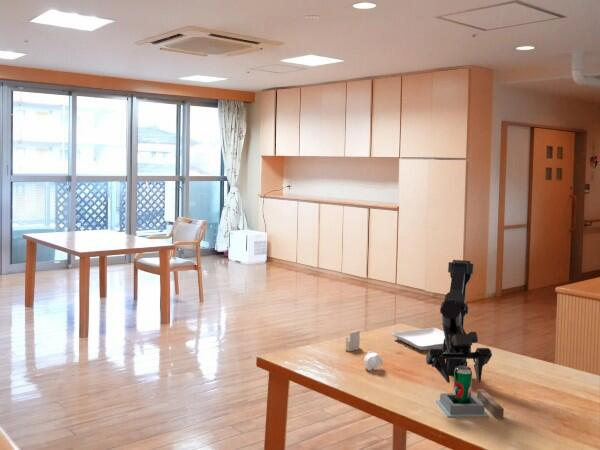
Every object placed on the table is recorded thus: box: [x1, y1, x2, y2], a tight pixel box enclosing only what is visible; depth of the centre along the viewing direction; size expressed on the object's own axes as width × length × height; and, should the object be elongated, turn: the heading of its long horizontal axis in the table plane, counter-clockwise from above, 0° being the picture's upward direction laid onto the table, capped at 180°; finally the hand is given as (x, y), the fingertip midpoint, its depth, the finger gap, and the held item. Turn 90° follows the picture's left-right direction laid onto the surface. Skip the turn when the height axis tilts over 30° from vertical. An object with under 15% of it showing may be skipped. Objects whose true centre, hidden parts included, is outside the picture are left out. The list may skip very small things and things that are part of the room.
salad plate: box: [391, 327, 445, 351], centre depth 264 cm, size 21×21×3 cm
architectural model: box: [343, 330, 362, 352], centre depth 255 cm, size 3×7×7 cm, turn 135°
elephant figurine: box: [362, 350, 384, 372], centre depth 230 cm, size 7×8×6 cm
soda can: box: [452, 365, 473, 404], centre depth 195 cm, size 5×5×12 cm
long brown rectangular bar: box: [476, 388, 505, 420], centre depth 196 cm, size 16×2×3 cm, turn 5°
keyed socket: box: [435, 392, 489, 418], centre depth 195 cm, size 12×12×3 cm
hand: (464, 382), depth 193 cm, fingers open, 9 cm apart
